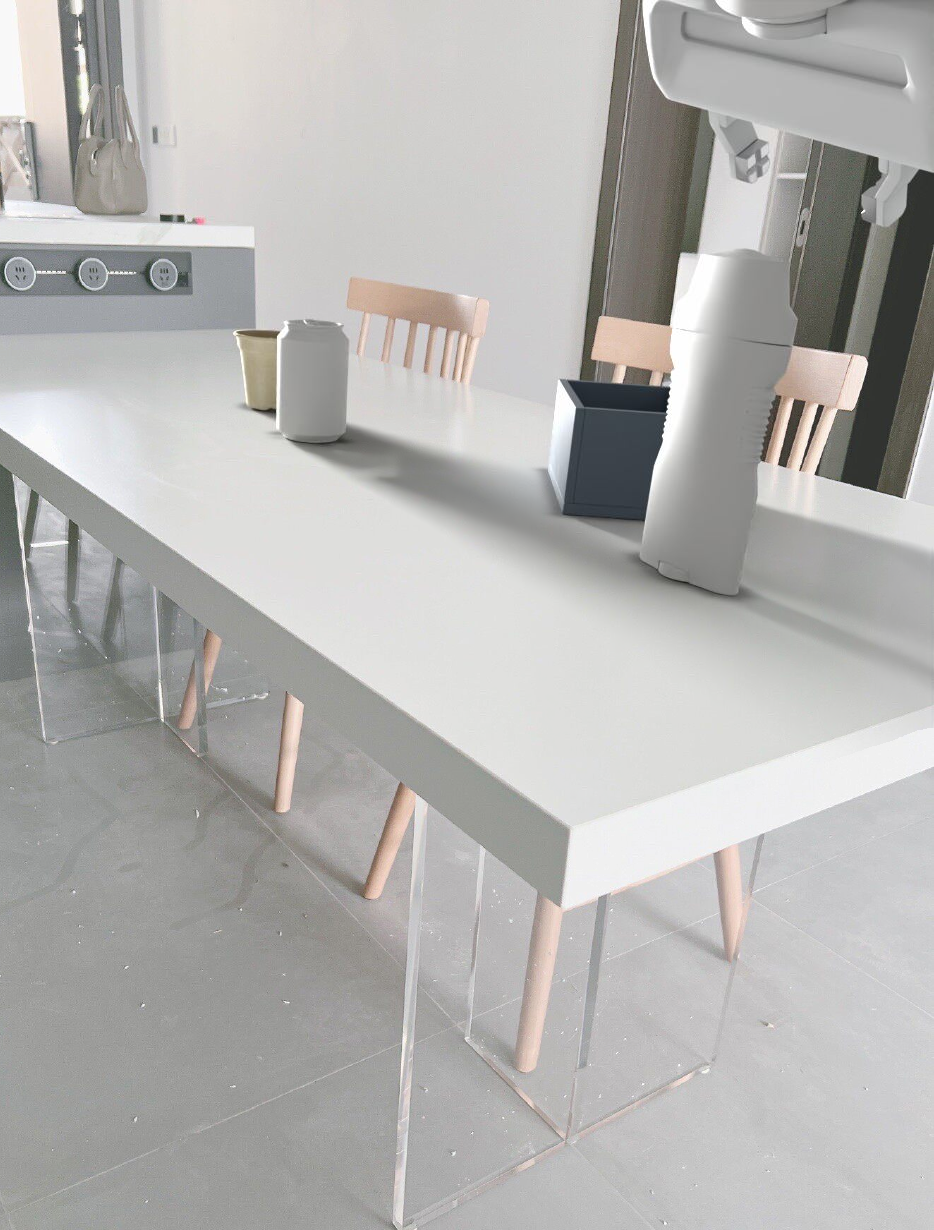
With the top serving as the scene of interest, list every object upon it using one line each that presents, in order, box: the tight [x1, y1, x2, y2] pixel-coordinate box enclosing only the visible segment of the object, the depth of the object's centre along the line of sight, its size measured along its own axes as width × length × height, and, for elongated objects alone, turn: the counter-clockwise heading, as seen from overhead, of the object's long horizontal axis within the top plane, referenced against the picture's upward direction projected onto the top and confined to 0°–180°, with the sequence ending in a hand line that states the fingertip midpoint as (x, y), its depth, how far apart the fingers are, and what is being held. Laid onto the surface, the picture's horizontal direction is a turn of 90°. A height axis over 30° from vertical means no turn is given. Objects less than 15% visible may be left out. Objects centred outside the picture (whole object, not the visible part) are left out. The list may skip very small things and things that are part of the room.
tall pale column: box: [638, 248, 799, 596], centre depth 73 cm, size 11×4×22 cm, turn 29°
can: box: [276, 318, 350, 444], centre depth 113 cm, size 8×8×12 cm
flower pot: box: [233, 329, 283, 411], centre depth 129 cm, size 9×9×9 cm
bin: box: [547, 378, 671, 521], centre depth 98 cm, size 12×18×9 cm, turn 177°
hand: (813, 195), depth 61 cm, fingers open, 8 cm apart
